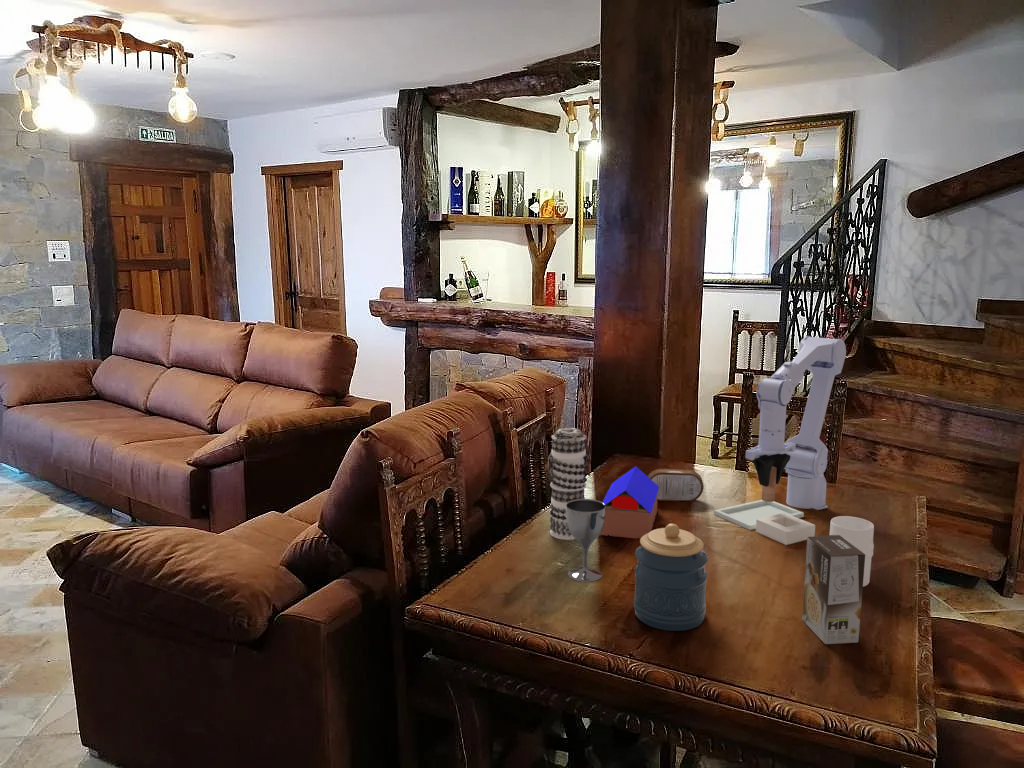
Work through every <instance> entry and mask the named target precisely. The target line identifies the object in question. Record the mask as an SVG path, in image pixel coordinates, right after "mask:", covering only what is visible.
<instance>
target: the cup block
mask: <svg viewBox="0 0 1024 768" xmlns="http://www.w3.org/2000/svg"><path fill="white" fill-rule="evenodd" d="M815 532H816V524H814V523H812V522H809V521H808V520H807V521H806V520H804V519H801V518H796V517H794V516H791V515H789V514H786V513H781V514H777V515H773V516H768V517H764V518H760V519H757V520H756V529H755V533H758V534H760V535H762V536H764V537H767V538H769V539H771V540H774V541H775V542H778V543H781V544H783V545H785V546H787V545H791V544H795V543H799V542H803V541H807V537H815V534H816V533H815Z"/></svg>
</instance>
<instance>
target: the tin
mask: <svg viewBox="0 0 1024 768" xmlns="http://www.w3.org/2000/svg"><path fill="white" fill-rule="evenodd" d="M646 476H647V477H649V478H650V479H651V480H652V481H653V482H654V483H655V484H656V485H658V486H659V490H658V496H657V501H658V500H659V501H660V502H679V501H689V502H688V503H690V502H694V501H697V500H698V499H699V498H700V497H701V495H702V494H703V491H704V482H703V479H702V477H701V475H700V474H699V473H698V472H697V471H694V470H693V469H678V468H677V469H675V468H657V469H654V470H653V471H651V472H650V473H649V474H648V475H646ZM659 501H658V502H659Z"/></svg>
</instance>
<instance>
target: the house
mask: <svg viewBox="0 0 1024 768" xmlns="http://www.w3.org/2000/svg"><path fill="white" fill-rule="evenodd" d="M647 476H648V475H646V474H645V472H643V471H642V470H641V469H640V468H639V467H638V466H636V465H635V466H634V467H632V468H631V469H630V470H629V471H627V472H626V473H624V474H623V475H622V476H620V477H618V478H617V479H616V480H614V481H613V482H612V483H611V485H610V486H609V489H608V490H607V491H606V494H605V496H604V499H603V500H602V502H603V503H604V504H605V521H604V526H603V529H602V532H601V534H600V535H599V536H608V535H609V537H610V536H611V537H620V538H628V539H637V538H639V540H640V539H641V537H642V536H644V535H645V534H647V533H649V532H651V531H652V529H653V527H654V524H653V523H655V519H656V517H657V512H658V500H657V496H658V490H659V486H658V485H656V484H655V483H654V482H653V481H652V480H651V479H650V478H649V477H647ZM655 516H656V517H655Z"/></svg>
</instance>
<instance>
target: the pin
mask: <svg viewBox="0 0 1024 768" xmlns="http://www.w3.org/2000/svg"><path fill="white" fill-rule="evenodd" d="M776 471H777V468H776V467H774V466H772V468H771V472H770V479H769V485H768V486H767V487H765V486H762V485H761V500H763V501H766V502H773V501H774V502H776V501H775V500H776V489H777V488H776V486H777V484H776Z"/></svg>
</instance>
